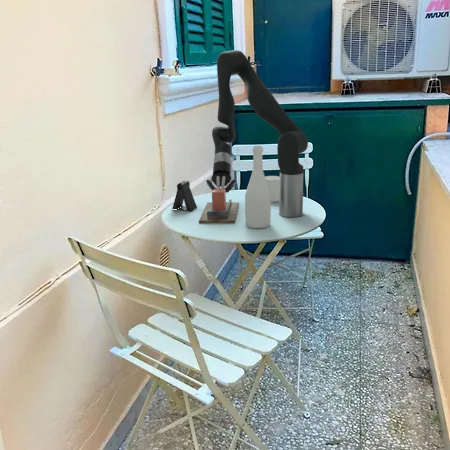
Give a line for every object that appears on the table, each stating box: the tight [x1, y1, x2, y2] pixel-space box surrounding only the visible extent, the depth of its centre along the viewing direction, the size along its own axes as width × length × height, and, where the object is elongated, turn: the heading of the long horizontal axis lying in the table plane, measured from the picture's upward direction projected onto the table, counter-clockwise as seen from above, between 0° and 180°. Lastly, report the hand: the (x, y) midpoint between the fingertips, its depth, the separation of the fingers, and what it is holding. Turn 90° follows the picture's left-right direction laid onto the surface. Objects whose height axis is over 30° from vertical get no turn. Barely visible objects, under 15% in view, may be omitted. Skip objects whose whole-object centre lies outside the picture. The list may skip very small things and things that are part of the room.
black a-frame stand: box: [172, 180, 198, 213], centre depth 189 cm, size 9×6×12 cm, turn 67°
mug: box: [265, 175, 280, 203], centre depth 200 cm, size 12×8×10 cm
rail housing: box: [198, 199, 240, 224], centre depth 183 cm, size 14×26×4 cm, turn 175°
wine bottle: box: [244, 145, 272, 230], centre depth 164 cm, size 10×10×30 cm
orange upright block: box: [211, 188, 227, 210], centre depth 180 cm, size 5×5×9 cm
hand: (220, 200), depth 183 cm, fingers closed
